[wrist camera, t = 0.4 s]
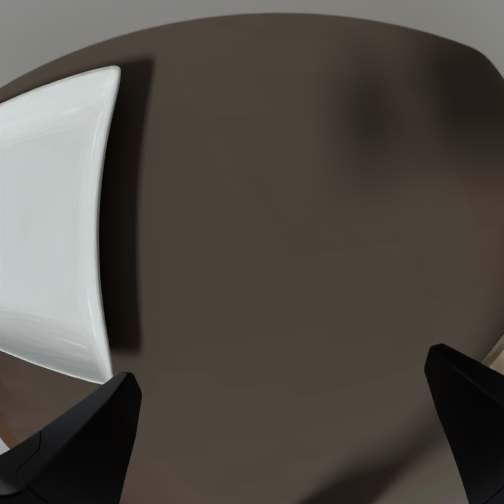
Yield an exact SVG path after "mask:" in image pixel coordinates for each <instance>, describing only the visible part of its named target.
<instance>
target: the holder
mask: <svg viewBox="0 0 504 504" xmlns="http://www.w3.org/2000/svg"><path fill="white" fill-rule="evenodd" d="M481 363H482V364H484V365H486V366H487V367H489V368H491V369H493V370H495V371H497V372H499V373H501V374H503V375H504V334H503V336H502V337H501V338H500V340H499V341H498V342H497V343H496V345H495V346H494V347H493V348H492V350H491V351H490V352H489V353H488V354H487V356H486V357H485V358H484V359H483V360H482V361H481Z"/></svg>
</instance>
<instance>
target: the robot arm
mask: <svg viewBox="0 0 504 504" xmlns="http://www.w3.org/2000/svg"><path fill="white" fill-rule="evenodd" d="M424 371H425V375H426V378H427V381H428V384H429V388H430V391H431V394H432V398H433V401H434V405H435V408H436V411H437V414H438V416H439V419H440V421H441V424H442V426H443V429H444V431H445V434H446V437H447V439H448V442H449V444H450V447H451V450H452V453H453V455H454V458H455V461H456V464H457V467H458V470H459V473H460V476H461V479H462V482H463V485H464V489H465V492H466V495H467V499H468V502H469V504H504V375H503V374H501V373H499V372H497V371H495V370H493V369H491V368H489V367H487V366H486V365H484V364H482V363H480V362H478V361H476V360H474V359H472V358H470V357H468V356H466V355H464V354H462V353H461V352H459V351H457V350H455V349H453V348H451V347H449V346H447V345H445V344H442V343H441V344H437V345H433V346H431V347H430V349H429V352H428V356H427V359H426V363H425V367H424ZM141 400H142V392H141V389H140V387H139V385H138V383H137V381H136V378H135V376H134V375H133V374H132V373H131V372H119V373H118V374H116V375H115V376H114V377H112V378H111V379H109V380H108V381H107V382H105V383H104V384H103V385H101V386H100V387H99V388H97V389H96V390H95V391H93V392H92V393H90V394H89V395H88V396H86V397H85V398H84V399H82V400H81V401H80V402H78V403H77V404H75V405H74V406H73V407H71V408H70V409H69V410H67V411H66V412H64V413H63V414H62V415H60V416H59V417H58V418H56V419H55V420H53V421H52V422H51V423H49V424H48V425H46V426H45V427H44V428H42V431H41V430H39V431H38V432H37V433H35V434H34V435H32V436H31V437H29V438H28V439H26V440H25V441H23V442H22V443H20V444H19V445H17V446H15V447H14V448H12V449H10V450H9V451H7V452H5V453H3V454H1V455H0V504H119V502H120V497H121V493H122V489H123V485H124V480H125V476H126V472H127V468H128V464H129V461H130V457H131V453H132V449H133V445H134V442H135V437H136V432H137V425H138V419H139V412H140V406H141Z"/></svg>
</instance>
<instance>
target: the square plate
mask: <svg viewBox="0 0 504 504" xmlns="http://www.w3.org/2000/svg"><path fill="white" fill-rule="evenodd" d="M120 77H121V69H120V67H118V66H109V67H103V68H99V69H95V70H91V71H88V72H84V73H80V74H77V75H74V76H71V77H68V78H65V79H62V80H58V81H56V82H53V83H50V84H47V85H44V86H42V87H39V88H36V89H34V90H31V91H29V92H26V93H24V94H22V95H19V96H17V97H14V98H12V99H10V100H8V101H5V102H3V103H1V104H0V350H1V351H3V352H6V353H8V354H10V355H13V356H15V357H18V358H21V359H23V360H26V361H28V362H31V363H33V364H36V365H39V366H42V367H45V368H48V369H51V370H54V371H57V372H60V373H63V374H66V375H69V376H72V377H76V378H80V379H83V380H87V381H90V382H95V383H99V384H104V383H105V382H107V381H108V380H109V379H111V378H112V377H113V368H112V360H111V354H110V348H109V341H108V335H107V329H106V323H105V316H104V309H103V301H102V292H101V282H100V263H99V214H100V197H101V185H102V176H103V168H104V160H105V153H106V147H107V141H108V136H109V130H110V125H111V120H112V116H113V111H114V107H115V103H116V98H117V94H118V89H119V84H120Z"/></svg>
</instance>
